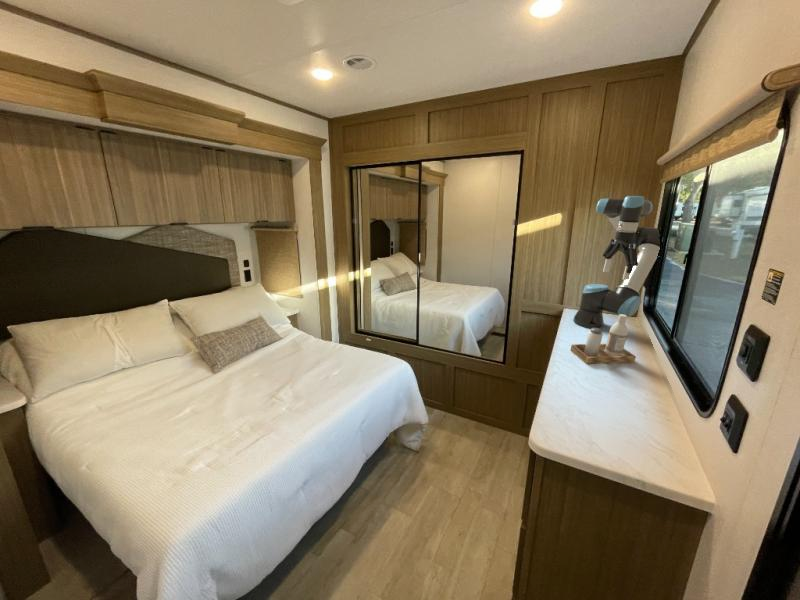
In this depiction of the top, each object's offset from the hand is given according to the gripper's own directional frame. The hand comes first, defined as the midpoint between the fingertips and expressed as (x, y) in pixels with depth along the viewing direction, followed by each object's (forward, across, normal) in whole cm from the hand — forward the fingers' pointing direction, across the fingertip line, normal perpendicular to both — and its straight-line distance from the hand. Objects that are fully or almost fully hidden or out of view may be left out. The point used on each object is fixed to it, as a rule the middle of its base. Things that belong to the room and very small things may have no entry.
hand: (615, 275), depth 157 cm
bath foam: (+34, +17, -5) cm, 38 cm away
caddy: (+34, +17, -11) cm, 40 cm away
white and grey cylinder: (+34, +17, -16) cm, 41 cm away
